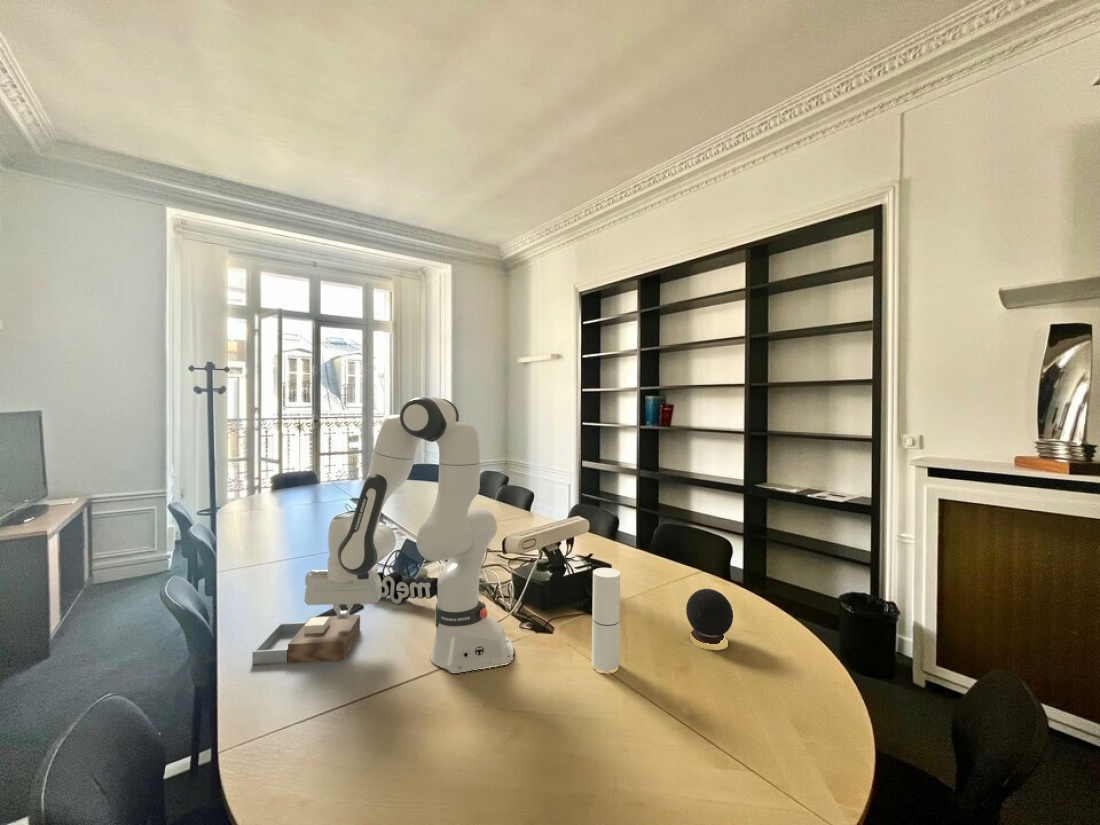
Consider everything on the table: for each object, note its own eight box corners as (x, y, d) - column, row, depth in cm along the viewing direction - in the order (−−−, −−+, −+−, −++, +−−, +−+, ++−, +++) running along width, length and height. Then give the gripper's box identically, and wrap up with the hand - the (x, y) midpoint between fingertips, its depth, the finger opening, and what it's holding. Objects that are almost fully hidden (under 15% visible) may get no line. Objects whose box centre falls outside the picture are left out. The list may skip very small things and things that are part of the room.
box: (309, 633, 138) (309, 622, 138) (286, 663, 122) (286, 649, 122) (279, 635, 137) (279, 623, 137) (252, 665, 121) (252, 651, 121)
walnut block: (359, 631, 140) (360, 614, 140) (343, 659, 124) (343, 641, 124) (310, 633, 138) (310, 617, 138) (287, 663, 122) (288, 644, 122)
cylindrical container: (597, 676, 118) (598, 578, 118) (587, 661, 125) (589, 568, 125) (623, 672, 120) (624, 576, 120) (612, 657, 127) (613, 566, 127)
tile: (329, 624, 134) (329, 616, 134) (323, 632, 129) (323, 624, 129) (311, 625, 133) (311, 617, 133) (304, 633, 128) (304, 625, 128)
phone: (365, 605, 157) (328, 623, 143) (365, 608, 157) (328, 627, 143) (347, 601, 160) (310, 618, 146) (347, 604, 160) (310, 622, 146)
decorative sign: (440, 600, 158) (437, 571, 159) (433, 605, 154) (430, 575, 155) (366, 599, 169) (364, 571, 170) (358, 603, 165) (355, 575, 166)
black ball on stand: (691, 626, 146) (692, 578, 146) (736, 637, 139) (737, 587, 139) (680, 644, 135) (681, 592, 135) (728, 657, 128) (729, 603, 128)
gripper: (301, 574, 127) (300, 624, 127) (378, 573, 130) (377, 622, 130) (309, 566, 133) (308, 614, 134) (383, 565, 136) (382, 612, 136)
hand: (343, 618), depth 132 cm, fingers closed
